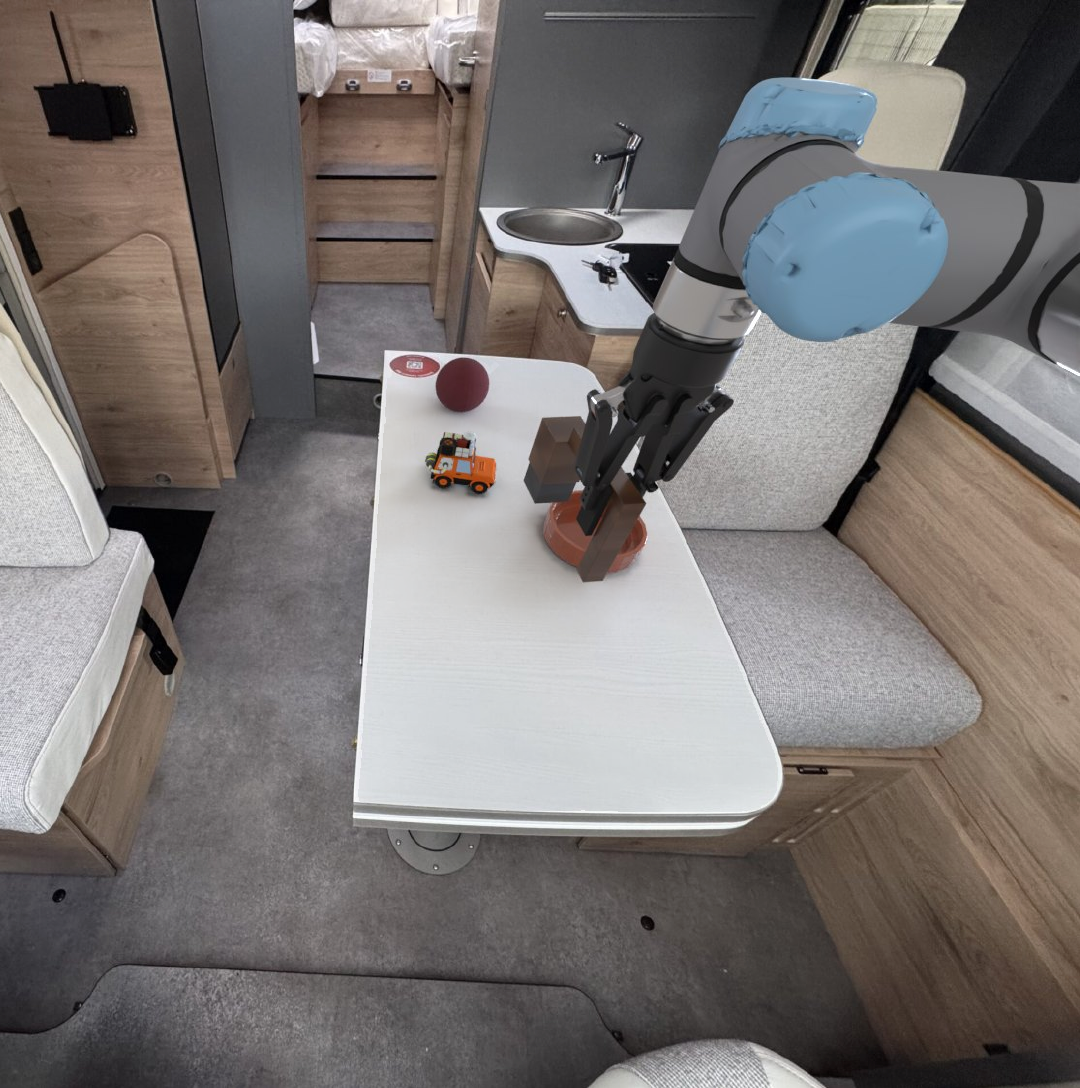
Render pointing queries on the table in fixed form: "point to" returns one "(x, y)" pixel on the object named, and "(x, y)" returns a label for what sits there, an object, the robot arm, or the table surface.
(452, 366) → the decorative ball
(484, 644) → the table surface
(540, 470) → the brown wooden mallet
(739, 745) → the table surface
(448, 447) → the toy car
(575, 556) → the bowl
